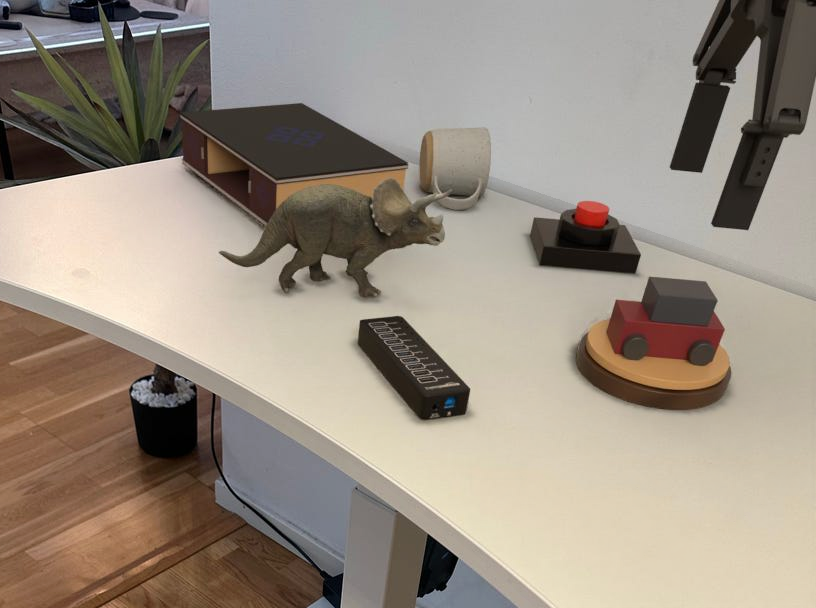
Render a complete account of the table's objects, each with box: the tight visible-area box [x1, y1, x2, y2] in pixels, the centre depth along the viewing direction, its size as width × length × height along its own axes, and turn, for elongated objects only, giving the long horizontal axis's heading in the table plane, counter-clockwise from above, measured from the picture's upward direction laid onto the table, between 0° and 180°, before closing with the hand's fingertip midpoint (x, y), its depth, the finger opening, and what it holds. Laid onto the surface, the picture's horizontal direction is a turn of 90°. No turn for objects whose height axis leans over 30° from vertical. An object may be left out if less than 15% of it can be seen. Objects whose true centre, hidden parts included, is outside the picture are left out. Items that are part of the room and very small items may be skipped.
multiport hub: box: [357, 315, 471, 421], centre depth 81 cm, size 4×14×2 cm, turn 21°
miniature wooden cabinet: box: [179, 102, 409, 228], centre depth 110 cm, size 17×25×7 cm
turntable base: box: [575, 330, 733, 411], centre depth 85 cm, size 14×14×2 cm
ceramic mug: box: [418, 126, 492, 211], centre depth 114 cm, size 11×8×8 cm
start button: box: [574, 200, 610, 226], centre depth 103 cm, size 4×4×2 cm
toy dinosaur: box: [218, 177, 452, 299], centre depth 90 cm, size 22×8×11 cm, turn 90°
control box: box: [529, 208, 642, 275], centre depth 104 cm, size 11×9×4 cm
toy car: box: [586, 276, 731, 390], centre depth 82 cm, size 13×13×6 cm
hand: (705, 197), depth 74 cm, fingers open, 13 cm apart
